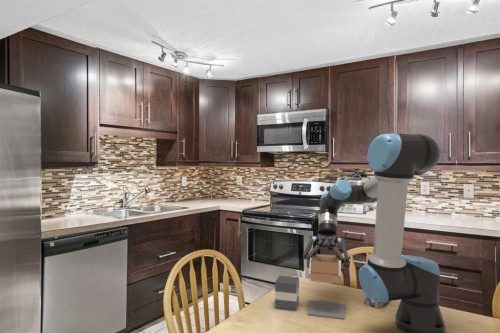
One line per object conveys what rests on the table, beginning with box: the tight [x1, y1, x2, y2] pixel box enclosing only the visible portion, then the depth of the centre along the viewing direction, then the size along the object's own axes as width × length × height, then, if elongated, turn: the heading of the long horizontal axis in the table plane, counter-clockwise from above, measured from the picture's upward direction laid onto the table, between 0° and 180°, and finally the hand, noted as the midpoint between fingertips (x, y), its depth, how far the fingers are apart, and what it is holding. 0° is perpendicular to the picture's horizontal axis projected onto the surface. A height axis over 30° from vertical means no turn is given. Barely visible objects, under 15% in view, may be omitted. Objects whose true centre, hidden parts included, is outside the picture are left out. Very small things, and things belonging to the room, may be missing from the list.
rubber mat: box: [307, 299, 346, 320], centre depth 132 cm, size 13×13×1 cm
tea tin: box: [274, 275, 300, 312], centre depth 136 cm, size 8×8×10 cm
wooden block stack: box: [310, 253, 340, 284], centre depth 133 cm, size 10×10×8 cm
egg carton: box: [363, 294, 390, 309], centre depth 139 cm, size 11×8×4 cm
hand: (324, 276), depth 130 cm, fingers closed on wooden block stack, 10 cm apart
